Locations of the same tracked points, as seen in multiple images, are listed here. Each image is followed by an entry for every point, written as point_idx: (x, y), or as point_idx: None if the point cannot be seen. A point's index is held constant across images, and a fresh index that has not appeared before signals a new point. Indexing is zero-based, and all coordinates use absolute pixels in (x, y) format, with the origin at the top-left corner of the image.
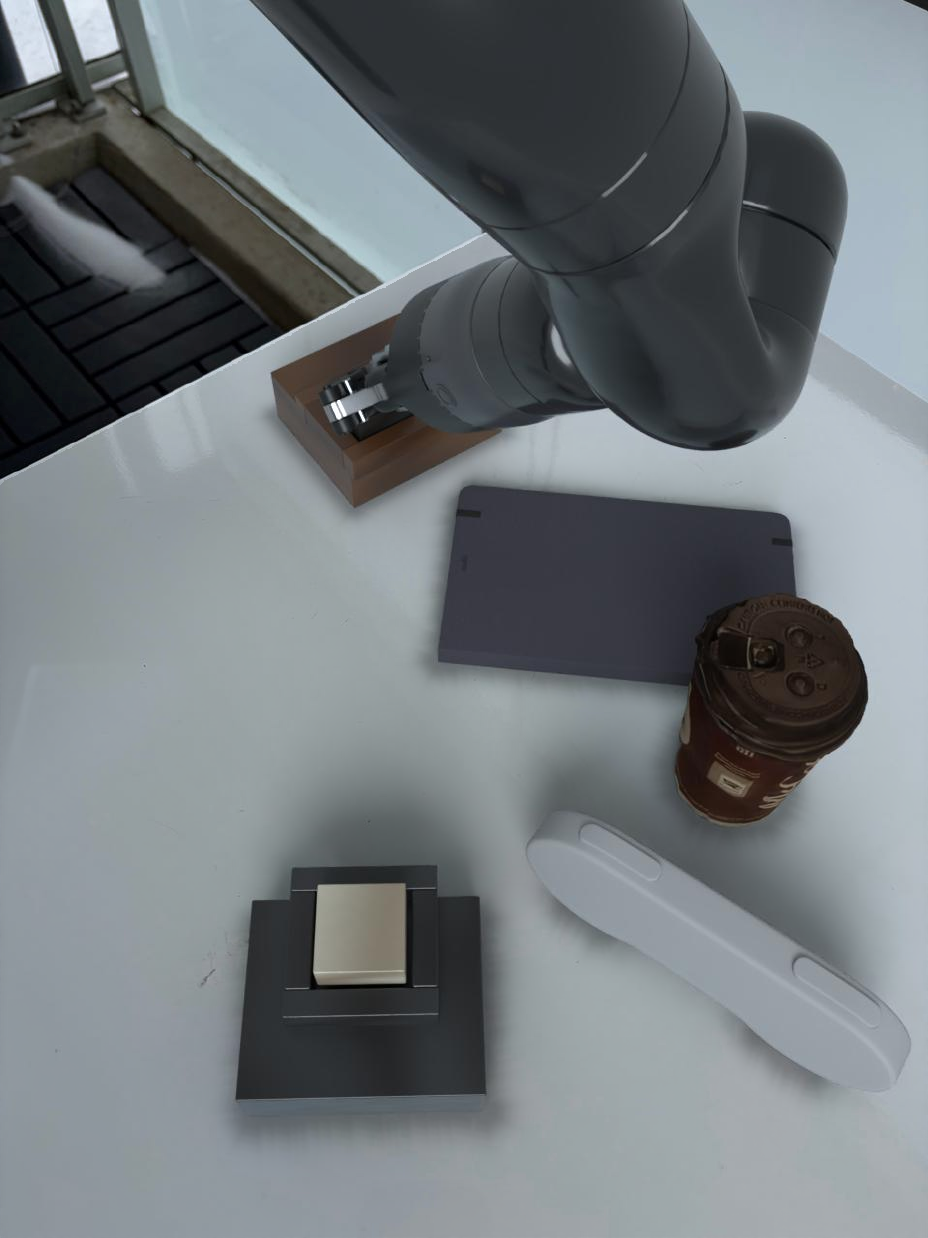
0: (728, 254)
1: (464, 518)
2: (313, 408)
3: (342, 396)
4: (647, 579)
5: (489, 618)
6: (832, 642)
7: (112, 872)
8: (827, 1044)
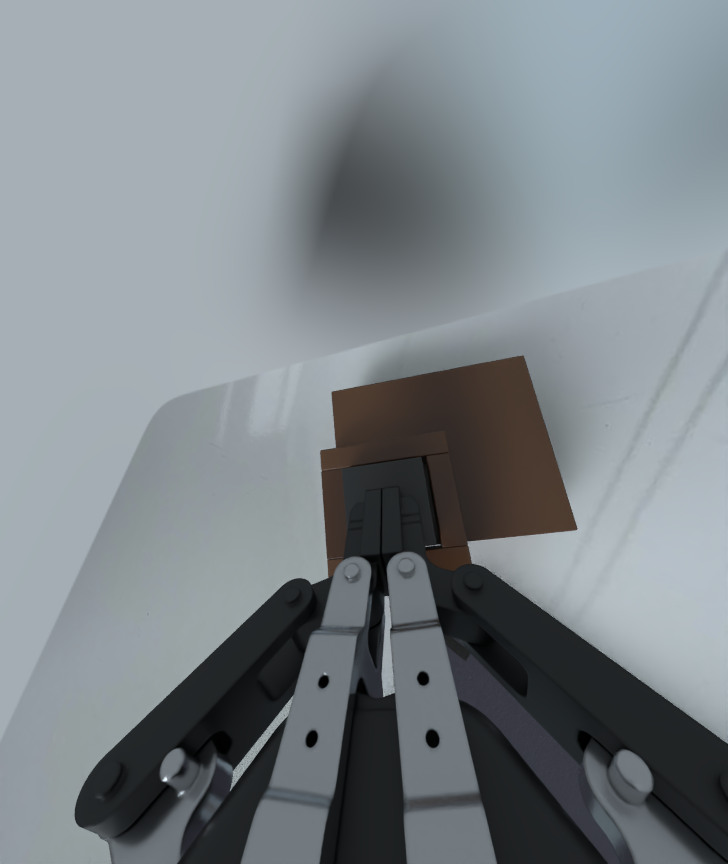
0: None
1: (447, 651)
2: (327, 480)
3: (132, 821)
4: None
5: None
6: None
7: (39, 798)
8: None
